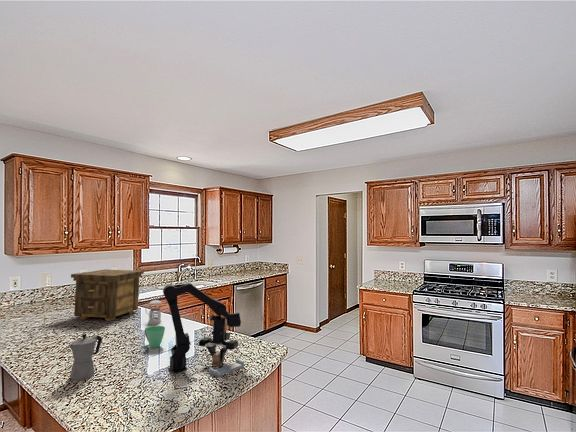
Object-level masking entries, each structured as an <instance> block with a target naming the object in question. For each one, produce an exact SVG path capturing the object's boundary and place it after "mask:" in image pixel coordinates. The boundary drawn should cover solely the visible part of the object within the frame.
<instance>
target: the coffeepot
mask: <svg viewBox="0 0 576 432" xmlns="http://www.w3.org/2000/svg"><path fill="white" fill-rule="evenodd" d="M102 341H103V338H102V337H101V336H100V335H94V336H92V337H87V333H84V334H82V338H80V339H75V340H74V341H72V342H71V344H70V345H69V346H68V348H70V349H71V352H72V358H73V363H72V367H71V371H70V373H69V374H70V375H69V379H70V380H71V381H83V380H87V379H89V378H92V377H93V376H94V375H95V367H94V366H95V365H94V359H93V356H96V355H98V353H99V350H100V348H101V344H102Z"/></svg>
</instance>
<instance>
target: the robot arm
mask: <svg viewBox="0 0 576 432" xmlns="http://www.w3.org/2000/svg"><path fill="white" fill-rule="evenodd" d="M162 292H163V295H164V298H165V300H166V302H167V304H168V308H169V311H170V316H171V319H172V324H173V328H174V332H175V337H174V339H175V345H173V346H172V348H171V349H170V353H171V356H169V367H168V368H167V370H169V371H170V372H172V373H174V374H177V373H179V372H183V371H186V370H188V367H187V357H186V356H187V355H186V354H187V353H188V352H189V350H190V349H191V345H192V344H191V341H190V336H189V335H190V334H189V333H188V332H186V333H185V331H184V326H183V324H182V318H181V313H180V310H179V306H178V296H181V295H183V294H186V293H189V294H190V295H192V296H193V297H195V298H196V299H198V300H199V301H201V302H202V303H204V304H205V305H206V306H207V307H208V308H209V309H210V310H211V311H212V312H213V313H214V314H216V315H214V314H211V316H209V321H212V331H211V335H212V337H210V336H209V337H208V336H205V337H203V338H201V339H200V340H199V341H198V346H199V347H205V348H206V349H207V350H208V352H209V355H210V356H211V357H212V355H213V354H214V353H216V352H217V349H216V348H217V346H220V347H221V346H222V347H221V348H220V350H219V352H220V358H221V362H222V361H223V359H224V360H225V356H226V353H227V351H228V350H231V351H232V350H235V349H237V348H238V347H239V342H238V340H234V339H230V337H231V333H230V332H227V329H226V326H227V328H239V327H241V325H242V324H241V323H242V320H241V316H240V315H241V314H240V313H239V312H235V313H234V312H233V313H231V312H230V313H229V311H227V306H226V305H225V303H223V301H222V302H221V301H220V300H217V299H215V298H213V297H210V296H209V295H208V294H206V293H205V292H203V291H201V289H198V288H197V287H196V286H194V285H193V284H192V282H186V283H180V284H179V283H178V284H174V285H173V284H172V283H171V284H170V283H169V284H166V285H164V287H163V289H162ZM185 369H186V370H185Z"/></svg>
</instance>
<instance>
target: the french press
mask: <svg viewBox="0 0 576 432" xmlns="http://www.w3.org/2000/svg"><path fill="white" fill-rule="evenodd" d="M154 289H158V286H154ZM159 304H162V301H160V300H158V299H157V297H155V300H151V301H149V304H147V305H146V307H145V309H144V310H145V312H146V314H147V315H148V321H147V322H146V323H147V324H148V325H149V324H151V325H153V324H161V323H162V322H163V320H162V319H161V318H162V317H161V316H162V313H161V312H162V310H161V307H160V306H156V305H159ZM151 305H154V307H152V306H151ZM148 306H149V309H150V310H149V312H148V310H147V308H148Z"/></svg>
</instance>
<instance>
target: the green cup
mask: <svg viewBox="0 0 576 432" xmlns="http://www.w3.org/2000/svg"><path fill="white" fill-rule="evenodd" d="M165 329H166V327H165V326H163V325H154V326H146V327H145V328H144V335H145V338H146V340H147V342H148V344H149V348H152V349H157V348H160V347H161V344H162V341H163V339H164V335H165V332H166V331H165Z"/></svg>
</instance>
